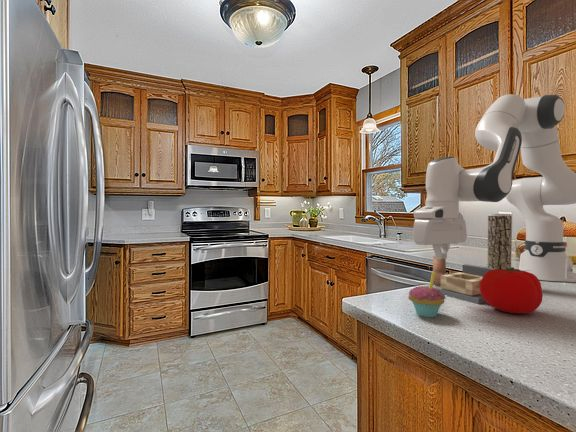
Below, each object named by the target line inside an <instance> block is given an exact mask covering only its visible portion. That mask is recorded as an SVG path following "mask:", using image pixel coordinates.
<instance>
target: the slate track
mask: <svg viewBox="0 0 576 432" xmlns="http://www.w3.org/2000/svg"><path fill="white" fill-rule="evenodd" d="M490 270H494V268H488V266H487V267H486V266H481V265H472V264H466V263H465V264H462V272H461V273H467V274H472V275H478V276H484V274H485V273H486V272H488V271H490ZM434 288H436V289H437V290H439V291H440V292H442V294H443V295H444V296H445V295H447V297H449V296H450V298H453V297H454V298H453V299H457V298H458V300H461V299H462V300H461V301H465V302H469V303H472V304H477V305H479V304H483V303H487V302H486V301H485V299H484V298H483V296H482V295H481V294H477V295H473V296H471V295H467V294H463V293H459V292H455V291H450V290H446V289H442V288H440V287H439V286H435V287H434Z"/></svg>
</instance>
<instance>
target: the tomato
mask: <svg viewBox="0 0 576 432" xmlns="http://www.w3.org/2000/svg"><path fill="white" fill-rule="evenodd" d="M527 271H529V270H527ZM480 292H481V295H482V296H483V298H484V299H485V301H486V302H485V303H487V304H489V305H490V307H491V308H495V309H497V310H498V311H499V310H500V311H502V312H504V313H511V314H530V313H533V312H535V311H537V309H538V308H539V307H540V305H541V304H542V302H543V294H544V293H543V290H542V284H541V280H538V278H537V277H536V276H535V275H534V274H532V273H529V272H526V271H522V270H521V271H520V270H519V268H518V269H517V268H515V267H513V266H511V269H509V268H507V269H494V270H490V271H488V272H486V273H485V274H484V276H483V277H482V280H481V282H480Z"/></svg>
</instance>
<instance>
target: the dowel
mask: <svg viewBox="0 0 576 432" xmlns="http://www.w3.org/2000/svg"><path fill="white" fill-rule="evenodd" d="M446 259H447V258H446ZM446 259H436V258H435V255H434V256H432V272H433V271H434V269H435V271H434V272H435V275H434V280H433V286H434V285H435V287H440V286H441V275H447V273H446V269H447V268H446V267H447V266H446V265H447V263H446V262H447V261H446Z"/></svg>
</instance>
